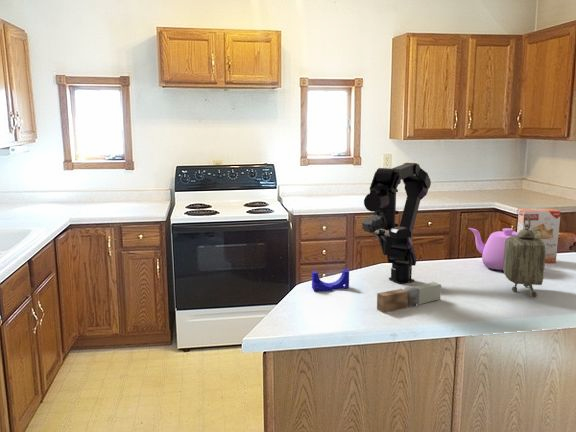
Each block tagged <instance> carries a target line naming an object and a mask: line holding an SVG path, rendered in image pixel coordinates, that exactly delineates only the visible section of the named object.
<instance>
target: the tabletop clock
mask: <svg viewBox="0 0 576 432" xmlns="http://www.w3.org/2000/svg"><path fill="white" fill-rule="evenodd" d="M526 217H527V219H528V222H529V226H528V224H525V219H526ZM524 227H525V230H521V231H520V232H519V233H518V235H517V236H511V237H509V238H507V239H506V241H505V250H504V270H503V273H504V276H505V278H506V279H507V280H508V281H510V282H511V283H513V284H514V285H513V286H512V287H511V290H512V291H513V292H517V290H518V287H517V286H518V285H523V287H525V288H528V287H529V289H530V291H531V297H533V298H537V296H538V294H537V292H535V291H534V288H533V286H542V285H543V281H544V276H545V275H544V274H545V265H546V263H545V245H544V242H543V241H542V240H541V239H540V238H538V237H535V235H534V233H533V232H532V231H531V230H528V229H529V228H530V218H529V216H527V215H526V216H525V217H524Z"/></svg>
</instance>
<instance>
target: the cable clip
mask: <svg viewBox="0 0 576 432" xmlns="http://www.w3.org/2000/svg"><path fill="white" fill-rule="evenodd" d="M319 277H320V276H319V273H318V271H317V270H312V271H311V289H312V290H313V292H314V293H317V292H318V293H319V292H321V293H323V292H333V290H348V289H350V271H349V270H348V269H346V268H345V269H342V272H341V274H340V277H339V278H338V279H337V280H336V281H333V282H324V281H323V280H321V279H320V278H319Z"/></svg>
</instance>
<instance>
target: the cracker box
mask: <svg viewBox="0 0 576 432" xmlns="http://www.w3.org/2000/svg"><path fill="white" fill-rule="evenodd" d="M561 214H562V211H561V210H558V209H554V208H519V209H518V218H517V227H516V229H517V231H516V232H517V233H519V232H520V231H521V230H525V227H524V217H525V216H526V215H527V216H529V218H530V228H529V229H528V230H531V231H532V232H533V233H534V235H535V237H538V238H540V239H541V240H542V241H543V242H544V245H545V264H556V263H557V255H558V254H557V253H558V244H559V234H560V223H561ZM525 224H528V226H529V222H528V219H527V217H526V219H525Z"/></svg>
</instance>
